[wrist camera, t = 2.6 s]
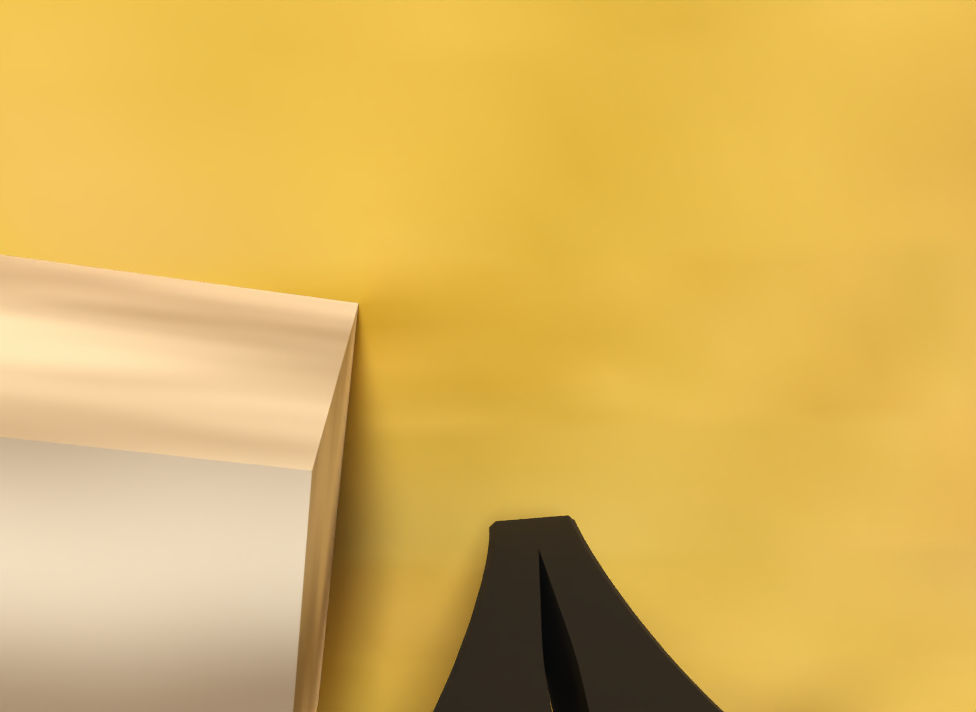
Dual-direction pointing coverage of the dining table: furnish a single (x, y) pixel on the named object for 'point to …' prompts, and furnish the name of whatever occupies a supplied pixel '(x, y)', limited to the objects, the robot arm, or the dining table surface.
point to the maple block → (166, 490)
